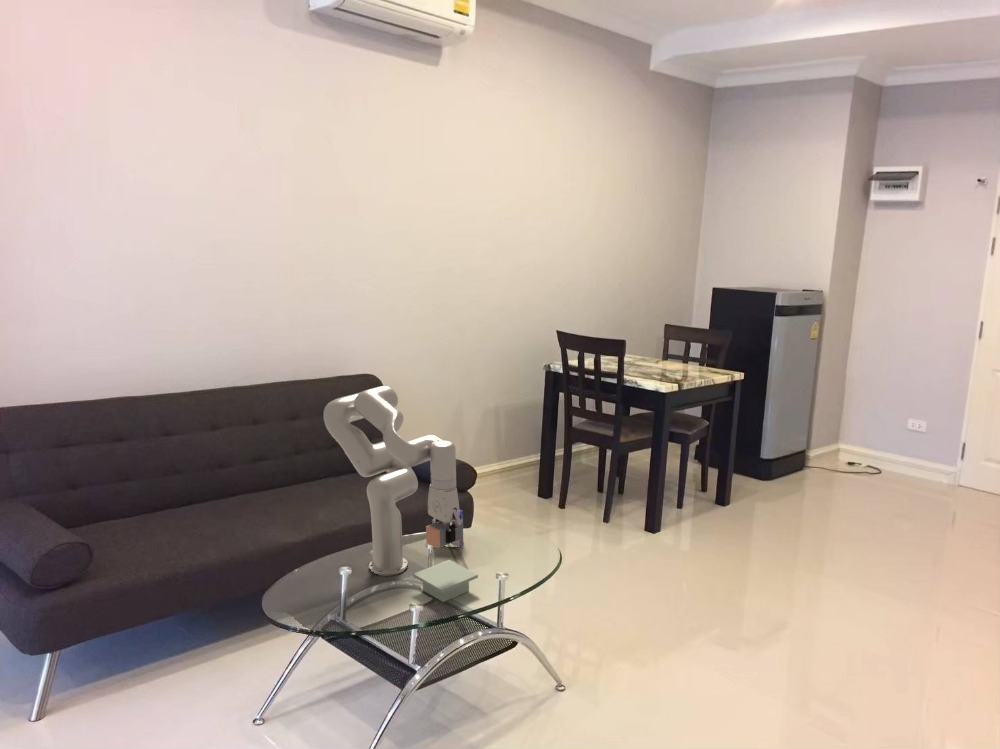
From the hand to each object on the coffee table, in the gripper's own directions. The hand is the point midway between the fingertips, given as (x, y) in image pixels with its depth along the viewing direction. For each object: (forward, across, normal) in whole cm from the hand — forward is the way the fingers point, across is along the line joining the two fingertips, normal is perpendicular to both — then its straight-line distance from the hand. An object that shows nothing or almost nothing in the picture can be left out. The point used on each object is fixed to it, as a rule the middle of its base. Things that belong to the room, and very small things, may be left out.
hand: (444, 538), depth 243 cm
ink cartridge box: (+18, -25, +21) cm, 37 cm away
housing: (+1, 0, 0) cm, 1 cm away
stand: (+17, 0, 0) cm, 17 cm away
